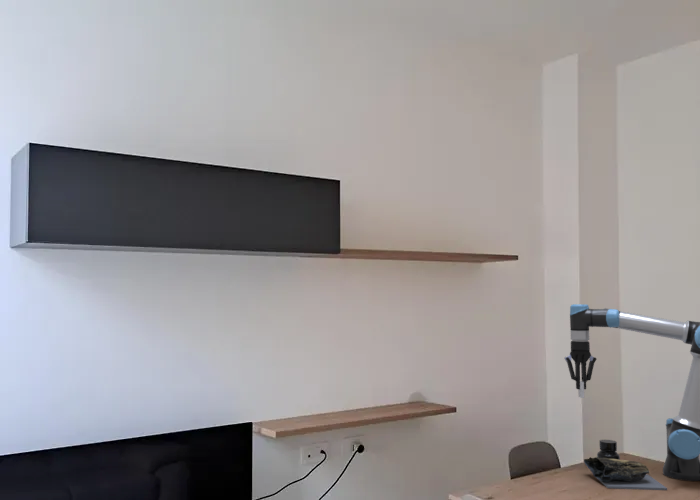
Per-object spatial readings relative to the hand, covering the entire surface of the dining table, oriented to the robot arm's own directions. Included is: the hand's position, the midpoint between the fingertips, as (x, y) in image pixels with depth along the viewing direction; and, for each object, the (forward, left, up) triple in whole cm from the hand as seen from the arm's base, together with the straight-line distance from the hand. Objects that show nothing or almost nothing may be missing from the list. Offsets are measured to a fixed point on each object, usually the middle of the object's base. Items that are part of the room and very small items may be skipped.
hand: (581, 397), depth 267 cm
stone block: (-1, +11, -25) cm, 28 cm away
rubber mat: (-14, +12, -31) cm, 36 cm away
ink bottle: (-12, -6, -31) cm, 34 cm away
